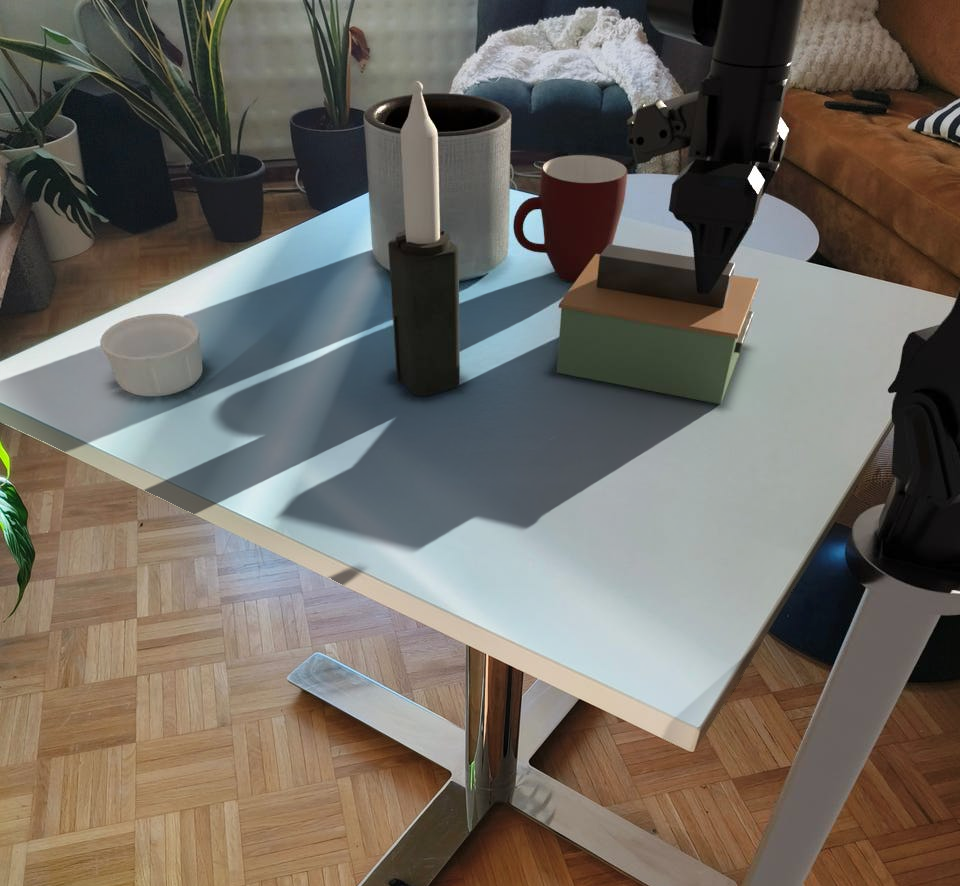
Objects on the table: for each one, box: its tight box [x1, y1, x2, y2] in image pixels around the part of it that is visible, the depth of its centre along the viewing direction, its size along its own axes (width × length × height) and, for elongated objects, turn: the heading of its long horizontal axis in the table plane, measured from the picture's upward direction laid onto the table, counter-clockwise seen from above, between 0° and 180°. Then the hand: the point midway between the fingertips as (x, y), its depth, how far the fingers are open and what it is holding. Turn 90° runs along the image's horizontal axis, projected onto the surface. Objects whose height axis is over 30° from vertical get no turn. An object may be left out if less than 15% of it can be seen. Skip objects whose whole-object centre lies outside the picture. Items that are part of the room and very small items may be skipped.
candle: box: [388, 80, 461, 397], centre depth 77 cm, size 5×5×25 cm
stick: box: [597, 244, 736, 308], centre depth 83 cm, size 12×3×3 cm, turn 69°
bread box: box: [556, 254, 760, 405], centre depth 87 cm, size 17×12×7 cm
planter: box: [363, 92, 512, 282], centre depth 101 cm, size 16×16×16 cm
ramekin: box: [99, 313, 204, 397], centre depth 84 cm, size 9×9×4 cm
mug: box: [513, 154, 628, 283], centre depth 99 cm, size 12×9×11 cm
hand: (713, 272), depth 77 cm, fingers open, 9 cm apart
